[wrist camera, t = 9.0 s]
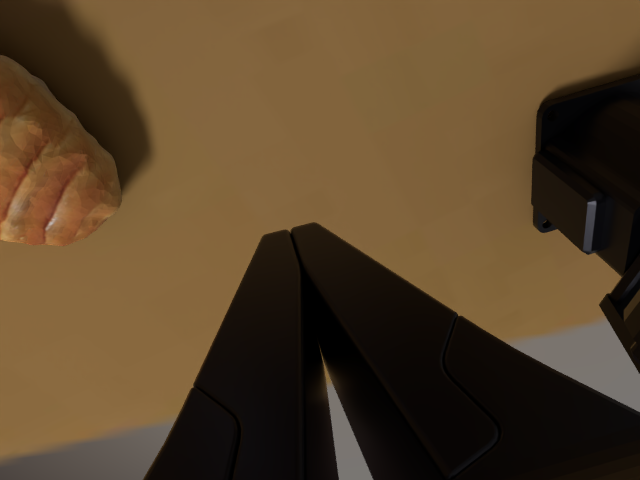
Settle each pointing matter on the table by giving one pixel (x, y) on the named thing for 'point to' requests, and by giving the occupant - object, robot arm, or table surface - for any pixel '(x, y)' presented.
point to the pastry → (49, 166)
